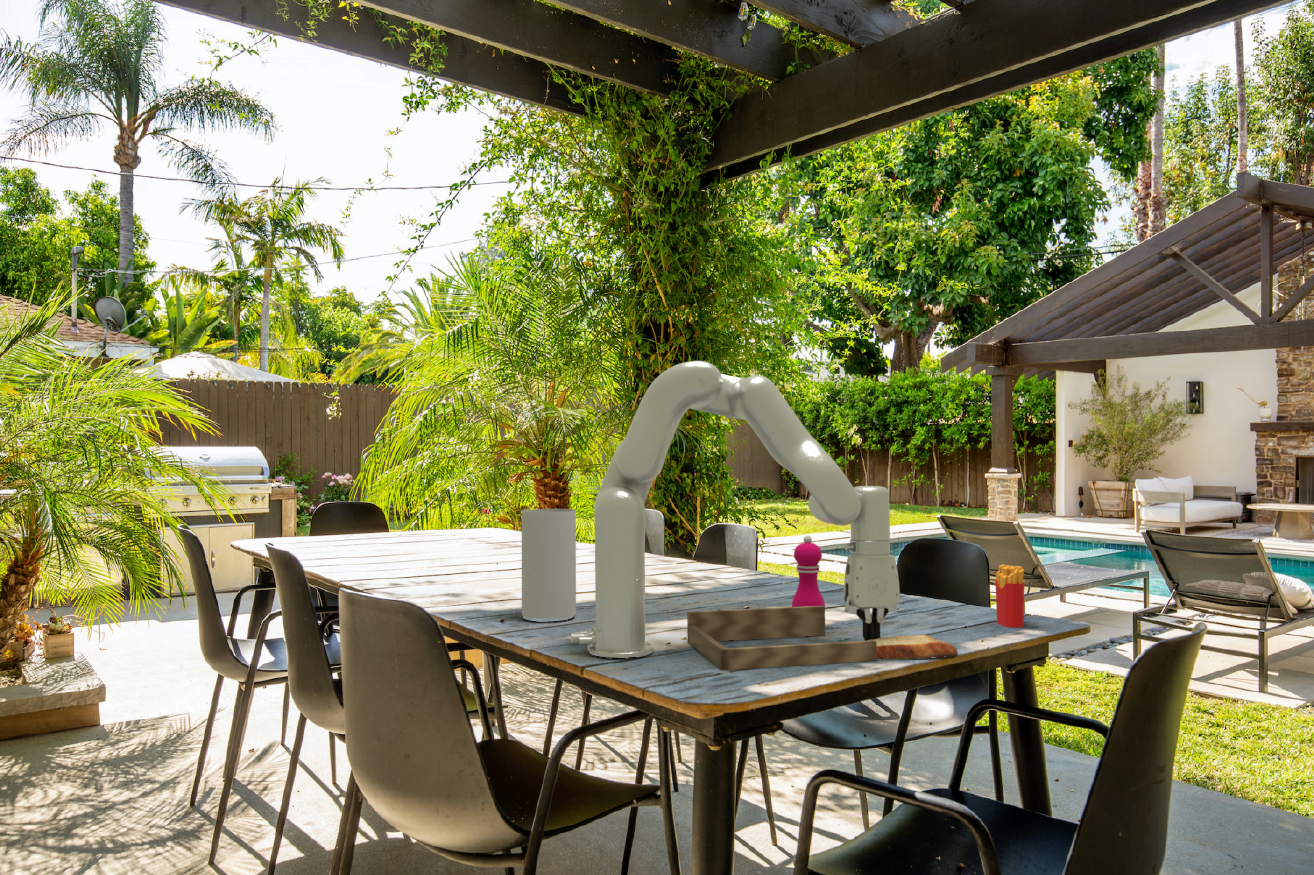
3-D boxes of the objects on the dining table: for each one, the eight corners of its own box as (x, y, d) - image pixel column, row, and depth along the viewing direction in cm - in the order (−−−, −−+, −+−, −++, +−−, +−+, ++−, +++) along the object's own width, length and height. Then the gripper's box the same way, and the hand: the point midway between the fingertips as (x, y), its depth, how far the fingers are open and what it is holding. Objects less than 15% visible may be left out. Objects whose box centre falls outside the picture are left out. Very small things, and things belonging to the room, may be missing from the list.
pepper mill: (825, 631, 186) (824, 537, 186) (791, 630, 187) (790, 536, 188) (825, 624, 193) (824, 534, 193) (792, 623, 194) (791, 533, 195)
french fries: (992, 621, 196) (991, 563, 196) (1011, 620, 196) (1010, 562, 197) (1010, 629, 187) (1009, 568, 187) (1030, 628, 187) (1029, 568, 187)
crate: (722, 670, 152) (721, 635, 152) (687, 641, 176) (687, 611, 176) (876, 660, 159) (876, 627, 159) (822, 634, 182) (822, 605, 182)
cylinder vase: (556, 611, 212) (556, 508, 212) (586, 618, 202) (586, 510, 203) (511, 617, 204) (511, 510, 204) (540, 625, 194) (540, 512, 195)
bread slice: (835, 658, 162) (834, 638, 162) (874, 642, 176) (874, 623, 177) (930, 673, 151) (929, 651, 151) (964, 654, 166) (963, 634, 166)
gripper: (843, 551, 167) (844, 648, 166) (914, 549, 170) (915, 644, 170) (827, 547, 174) (828, 640, 174) (896, 545, 177) (897, 636, 177)
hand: (871, 642), depth 172 cm, fingers closed
